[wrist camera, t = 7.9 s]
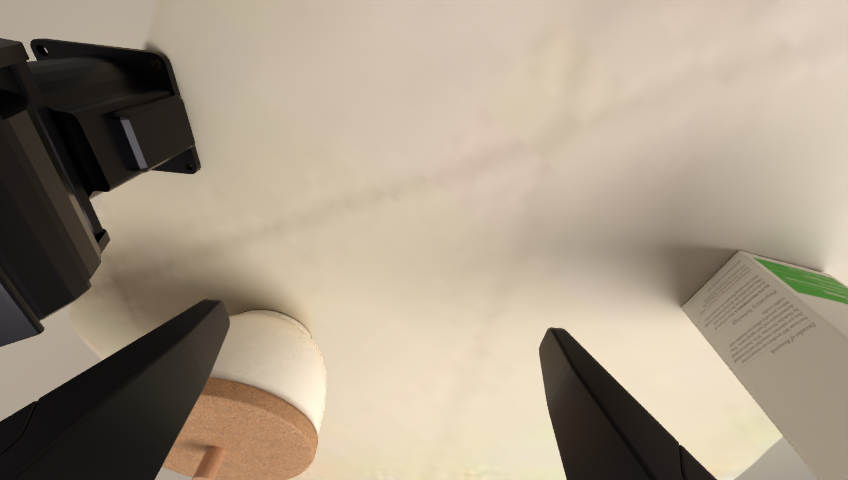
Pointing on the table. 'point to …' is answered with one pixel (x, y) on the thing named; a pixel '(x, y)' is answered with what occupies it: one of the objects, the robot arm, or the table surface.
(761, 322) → the skincare box
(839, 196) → the table surface
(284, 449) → the lidded bowl
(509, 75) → the table surface
